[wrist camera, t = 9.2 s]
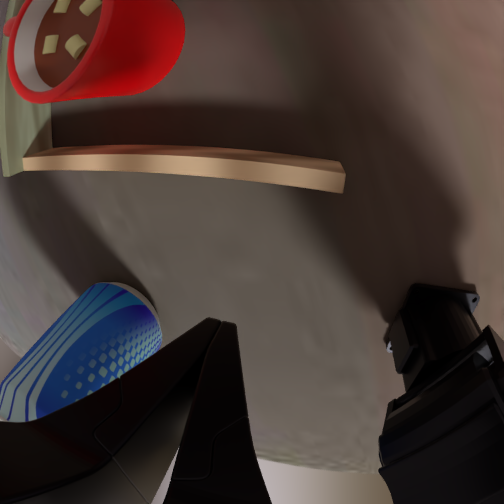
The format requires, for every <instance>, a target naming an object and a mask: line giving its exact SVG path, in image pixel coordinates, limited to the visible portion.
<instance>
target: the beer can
mask: <svg viewBox="0 0 504 504" xmlns="http://www.w3.org/2000/svg"><path fill="white" fill-rule="evenodd" d="M161 342H162V332H161V328H160V321H159V317H158V315H157V312H156V310H155V309H154V307H153V306H152V304H151V303H150V302H149V301H148V299H147V298H146V297H145V296H143V295H142V294H141V293H140V292H139V291H137V290H136V289H134V288H132V287H130V286H128V285H126V284H123V283H118V282H110V283H107V282H101V283H96V284H94V285H92V286H91V287H89V288H88V289H87V290H86V291H85V292H84V293H83V294H82V295H81V296H80V297H79V298H78V299H77V300H76V301H75V302H74V303H73V304H72V305H71V306H70V307H69V308H68V309H67V310H66V311H65V312H64V313H63V314H62V315H61V316H60V317H59V318H58V319H57V321H56V322H55V323H54V324H53V325H52V326H51V327H50V328H49V329H48V330H47V331H46V332H45V333H44V334H43V335H42V336H41V338H40V339H39V340H38V341H37V342H36V343H35V344H34V345H33V346H32V347H31V349H30V350H29V351H28V352H27V353H26V354H25V355H24V356H23V358H22V359H21V360H20V361H19V362H18V363H17V365H16V366H15V367H14V368H13V369H12V370H11V372H10V373H9V374H8V375H7V376H6V378H5V379H4V380H3V381H2V383H1V385H0V421H6V422H26V421H31V420H35V419H38V418H41V417H43V416H45V415H47V414H50V413H52V412H54V411H56V410H58V409H61V408H63V407H65V406H67V405H69V404H71V403H73V402H76V401H78V400H80V399H82V398H83V397H85V396H87V395H89V394H91V393H93V392H95V391H96V390H98V389H100V388H101V387H103V386H105V385H106V384H108V383H110V382H111V381H113V380H114V379H116V378H117V377H119V378H120V376H121V375H122V374H124V373H125V372H127V371H128V370H130V369H131V368H133V367H134V366H136V365H137V364H139V363H140V362H142V361H144V360H145V359H147V358H148V357H150V356H151V355H153V354H154V353H156V352H157V351H158V349H159V348H160V346H161Z"/></svg>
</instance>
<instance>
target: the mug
mask: <svg viewBox="0 0 504 504" xmlns="http://www.w3.org/2000/svg"><path fill="white" fill-rule="evenodd" d="M3 33H4V35H5V36H7V37H10V38H9V42H8V51H7V67H8V73H9V77H10V80H11V83H12V86H13V87H14V89H15V90H16V92H17V94H18V95H20V96H21V97H22V98H23V99H24V100H26V101H28V102H31V103H36V104H45V103H51V102H59V101H66V100H75V99H85V98H96V97H110V96H127V95H135V94H138V93H141V92H144V91H146V90H148V89H150V88H152V87H153V86H154V85H156V84H157V83H158V82H160V81H161V80H162V79H163V78H164V77H165V76H166V75H167V74H168V73H169V71H170V70H171V69H172V67H173V66H174V64H175V63H176V61H177V59H178V57H179V55H180V53H181V50H182V47H183V43H184V37H185V24H184V19H183V16H182V13H181V11H180V9H179V8H178V6H177V5H176V4H175V3H174V2H173V1H172V0H25V2H24V3H23V5H22V7H21V9H20V11H19V13H18V15H17V16H15V17H12V18H10V19H9V20H8V21H7V22H6V23H5V25H4V27H3Z"/></svg>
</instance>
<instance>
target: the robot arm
mask: <svg viewBox="0 0 504 504" xmlns="http://www.w3.org/2000/svg"><path fill="white" fill-rule="evenodd" d="M415 290H418V291H417V292H414V291H415ZM474 297H475V298H474ZM473 298H474V299H473ZM472 299H473V300H472ZM479 299H480V297H479V295H478V294H477V292H474V291H466V290H459V289H452V288H445V287H438V286H431V285H424V284H414V285H412V286H411V287H410V289H409V292H408V294H407V297H406V299H405V302H404V305H403V307H402V308H401V309H400V310H399V311H398V314H397V316H396V319H395V321H394V323H393V326H392V328H391V330H390V332H389V339H388V342H387V344H386V349H387V351H388V352H391V353H393V358H394V363H395V368H396V371H397V373H398V374H402V375H403V380H404V385H405V391H406V393H405V394H403V395H402V396H400V397H399V398H397V399H394V400H392V401H391V402H389V403H388V407H387V413H386V417H385V422H384V427H383V431H382V435H380V436H379V440H378V443H379V458H380V462H381V465H382V467H381V468H379V470H378V471H379V473H380V475H381V476H382V477H383V479H384V481H385V482H386V484H387V486H388V488H389V490H390V493H391V496H392V499H393V503H394V504H504V341H503V340H502V339H501V338H500V337H499V336H498V334H497V333H496V332H495V331H494V330H493V329H492V328H491V327H490V325H488V326H487V327H485V328H484V329H483V330H482V331H483V332H482V331H481V329H480V327H479V325H478V323H477V321H476V320H475V318H474V316H473V312H474V310H475V308H476V306H477V304H478V302H479ZM178 448H179V450H178ZM177 450H178V454H177V457H176V461H175V465H174V468H173V472H172V476H171V481H170V484H169V488H168V491H167V494H166V497H165V499H164V502H163V504H272V502H271V500H270V497H269V494H268V491H267V488H266V486H265V482H264V480H263V477H262V474H261V471H260V468H259V464H258V461H257V457H256V454H255V450H254V446H253V441H252V436H251V431H250V424H249V418H248V410H247V403H246V396H245V388H244V381H243V373H242V366H241V358H240V350H239V342H238V334H237V326H236V324H235V323H231V322H227V321H222V322H221V321H220V320H218V319H214V318H210V317H208V318H206V319H204V320H203V321H201V322H200V323H198V324H197V325H196V326H194V327H193V328H191V329H190V330H188V331H187V332H185V333H184V334H182V335H181V336H179V337H178V338H176V339H175V340H173V341H172V342H171V343H169V344H168V345H166V346H165V347H163V348H162V349H160V350H159V351H157V352H156V353H154V354H153V355H151V356H150V357H148V358H147V359H145V360H144V361H142V362H140V363H139V364H137V365H136V366H134V367H133V368H131V369H130V370H128V371H127V372H125V373H124V374H122V375H121V376H120V378H119V377H117V378H116V379H114V380H113V381H111V382H110V383H108V384H106V385H105V386H103V387H101V388H100V389H98V390H96V391H95V392H93V393H91V394H89V395H87V396H85V397H83V398H82V399H80V400H78V401H76V402H73V403H71V404H69V405H67V406H65V407H63V408H61V409H58V410H56V411H54V412H52V413H50V414H47V415H45V416H43V417H41V418H38V419H35V420H31V421H26V422H6V421H0V504H151V503H152V501H153V498H154V497H155V495H156V493H157V491H158V489H159V487H160V484H161V483H162V481H163V479H164V477H165V475H166V472H167V470H168V468H169V466H170V464H171V462H172V460H173V458H174V456H175V454H176V452H177Z"/></svg>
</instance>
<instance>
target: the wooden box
mask: <svg viewBox="0 0 504 504" xmlns="http://www.w3.org/2000/svg"><path fill="white" fill-rule="evenodd" d="M24 2H25V0H9V5H8V10H7V15H6V20H5V23H6V22H7V21H8V20H9V19H10V18H12V17H15V16H17V15H18V13H19V11H20V9H21V7H22V5H23V3H24ZM9 38H10V37H7V36H5V35H4V33H3V40H2V48H1V58H0V150H1V161H2V169H3V177H10V176H12V175H15V174H17V173H19V172H22V171H30V170H103V171H132V172H152V173H168V174H183V175H195V176H207V177H218V178H228V179H238V180H247V181H256V182H265V183H273V184H280V185H288V186H295V187H302V188H309V189H316V190H323V191H329V192H335V193H341V194H343V189H344V183H345V177H346V173H345V171H344V169H343V167H342V165H341V163H340V162H338V161H332V160H326V159H319V158H312V157H305V156H298V155H290V154H282V153H273V152H264V151H254V150H244V149H232V148H218V147H202V146H180V145H94V146H73V147H58V148H53V146H52V126H51V103H45V104H36V103H31V102H28V101H26V100H24V99H23V98H22V97H21V96H20V95H18V94H17V92H16V90H15V89H14V87H13V86H12V83H11V80H10V77H9V73H8V67H7V51H8V42H9Z"/></svg>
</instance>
